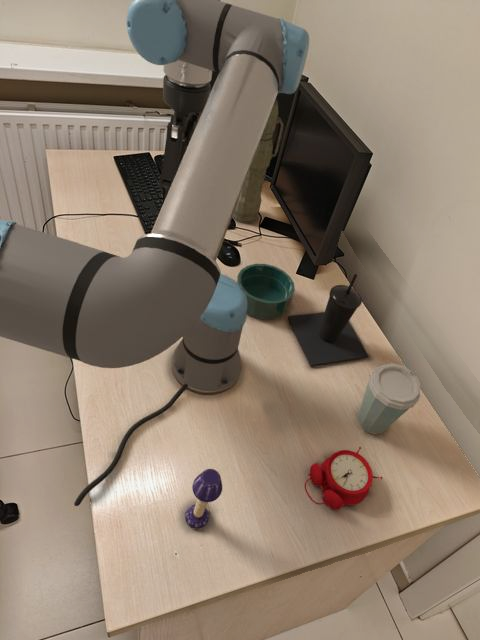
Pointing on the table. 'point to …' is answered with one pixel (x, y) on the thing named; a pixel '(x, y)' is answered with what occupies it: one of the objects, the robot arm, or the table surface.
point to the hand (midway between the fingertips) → (179, 197)
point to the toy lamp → (203, 497)
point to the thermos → (258, 170)
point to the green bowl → (266, 290)
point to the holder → (320, 350)
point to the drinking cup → (339, 311)
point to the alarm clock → (342, 479)
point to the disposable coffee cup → (387, 397)
